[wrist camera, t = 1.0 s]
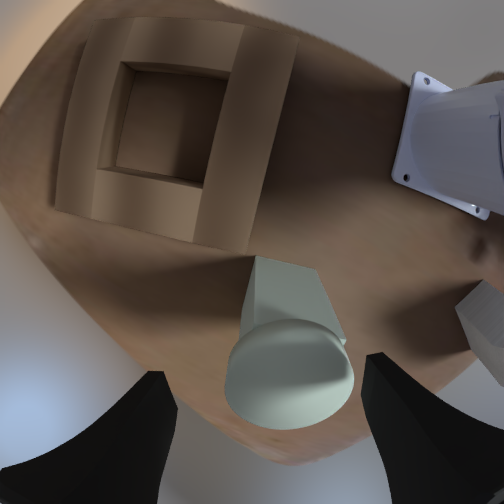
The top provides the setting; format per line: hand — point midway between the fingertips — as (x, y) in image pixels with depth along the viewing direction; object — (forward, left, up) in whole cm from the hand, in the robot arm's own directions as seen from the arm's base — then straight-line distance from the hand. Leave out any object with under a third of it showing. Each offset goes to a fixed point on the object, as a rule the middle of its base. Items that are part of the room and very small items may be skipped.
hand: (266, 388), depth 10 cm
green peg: (-1, +1, -10) cm, 11 cm away
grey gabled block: (-20, 0, -11) cm, 23 cm away
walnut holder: (+8, -8, -10) cm, 15 cm away
